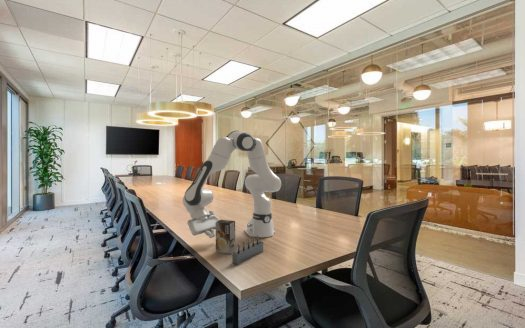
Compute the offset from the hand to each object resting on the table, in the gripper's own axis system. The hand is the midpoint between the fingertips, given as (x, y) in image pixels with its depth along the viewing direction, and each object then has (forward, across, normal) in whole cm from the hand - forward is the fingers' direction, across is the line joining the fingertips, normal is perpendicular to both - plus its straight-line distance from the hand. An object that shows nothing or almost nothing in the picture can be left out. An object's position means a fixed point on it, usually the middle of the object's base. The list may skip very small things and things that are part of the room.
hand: (212, 237), depth 144 cm
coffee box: (+11, 0, -2) cm, 11 cm away
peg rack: (+22, 0, -13) cm, 26 cm away
